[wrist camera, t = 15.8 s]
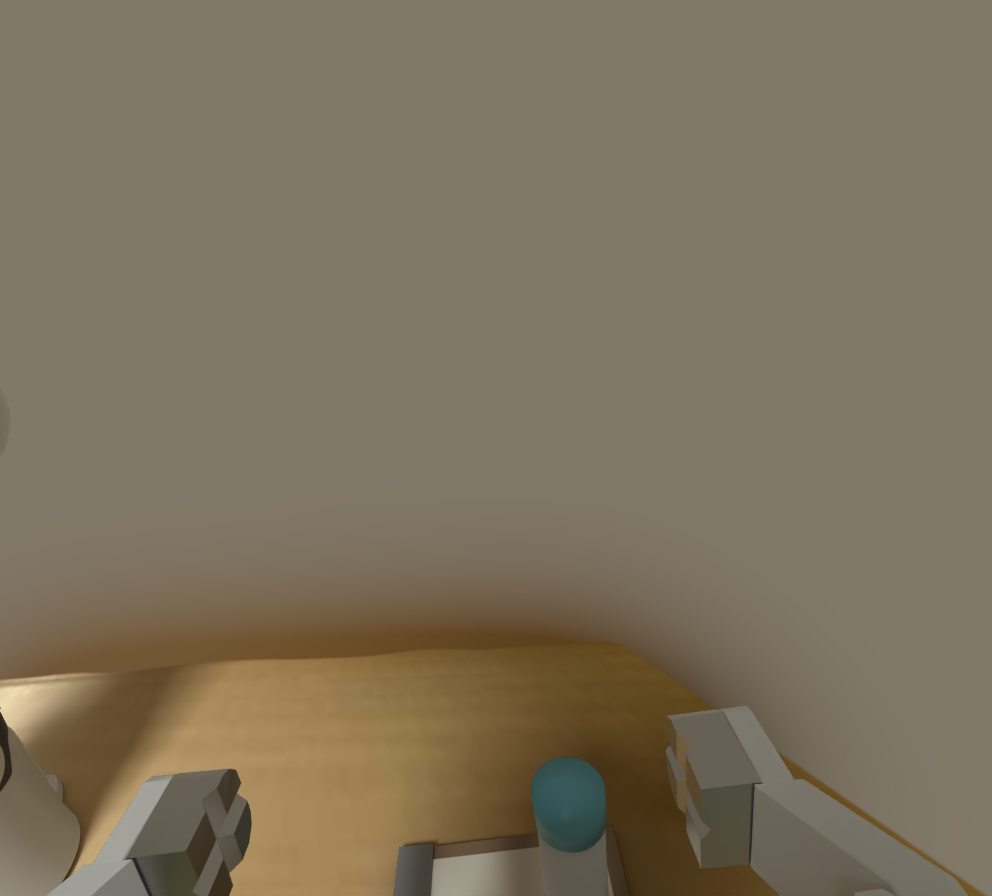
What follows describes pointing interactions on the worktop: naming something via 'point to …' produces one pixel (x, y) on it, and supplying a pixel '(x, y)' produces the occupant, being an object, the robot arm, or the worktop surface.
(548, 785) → the water bottle
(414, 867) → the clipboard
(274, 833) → the worktop surface
